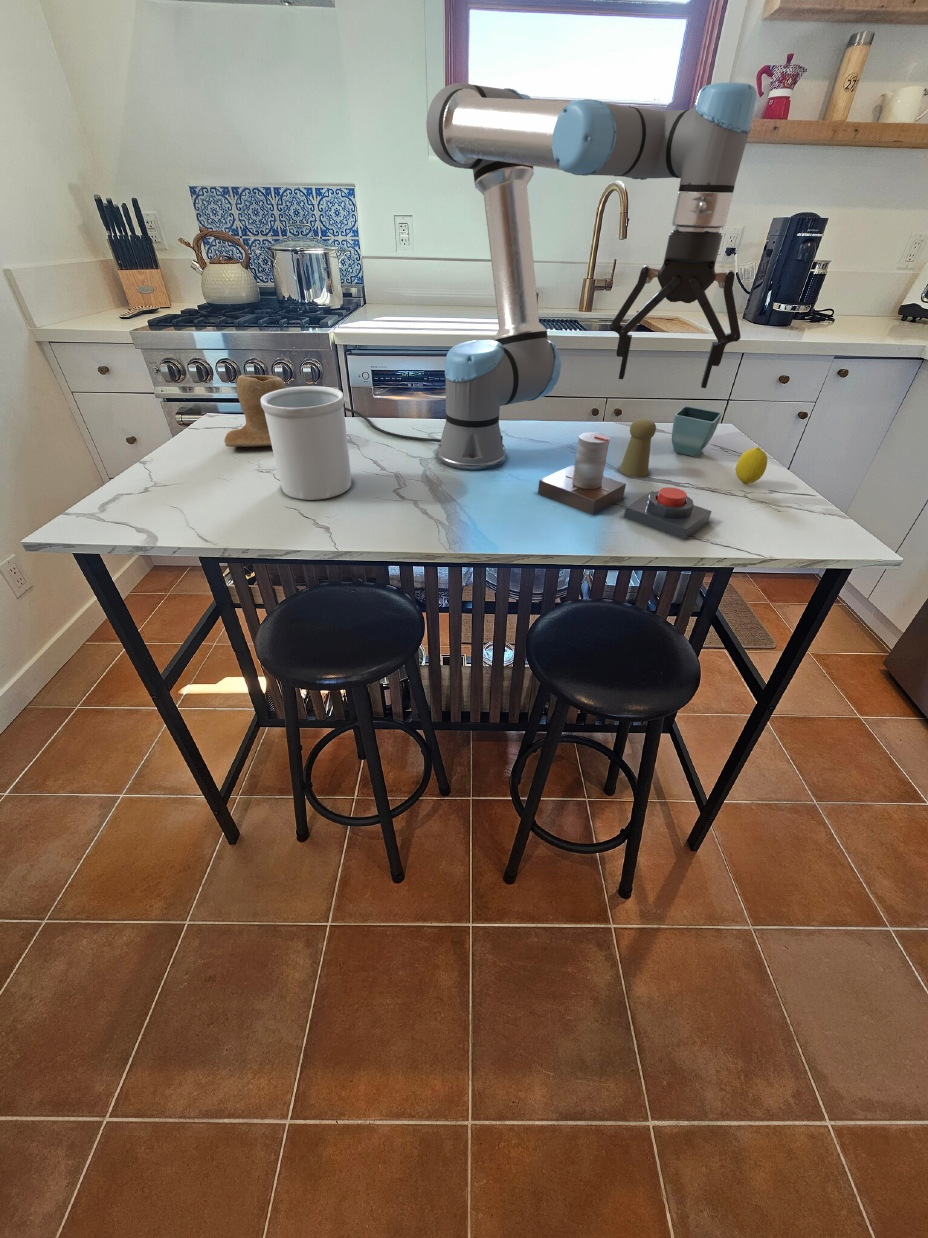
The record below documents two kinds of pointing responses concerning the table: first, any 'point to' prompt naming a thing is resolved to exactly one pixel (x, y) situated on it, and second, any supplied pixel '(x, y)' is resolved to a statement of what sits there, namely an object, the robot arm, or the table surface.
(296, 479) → the utensil holder
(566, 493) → the control panel
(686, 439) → the flower pot
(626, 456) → the olive pawn figure
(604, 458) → the knob
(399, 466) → the table surface
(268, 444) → the tan felt boot
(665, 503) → the button
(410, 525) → the table surface
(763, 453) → the lemon
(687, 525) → the button box
